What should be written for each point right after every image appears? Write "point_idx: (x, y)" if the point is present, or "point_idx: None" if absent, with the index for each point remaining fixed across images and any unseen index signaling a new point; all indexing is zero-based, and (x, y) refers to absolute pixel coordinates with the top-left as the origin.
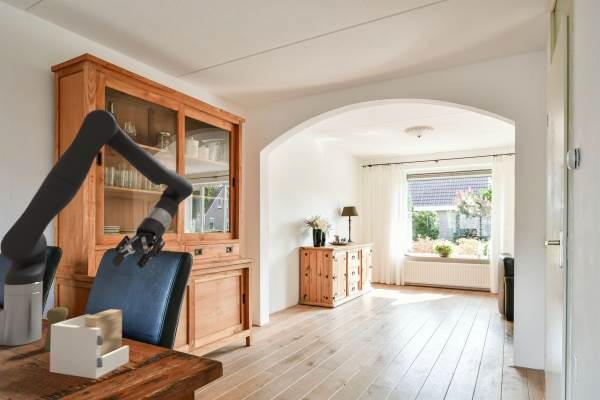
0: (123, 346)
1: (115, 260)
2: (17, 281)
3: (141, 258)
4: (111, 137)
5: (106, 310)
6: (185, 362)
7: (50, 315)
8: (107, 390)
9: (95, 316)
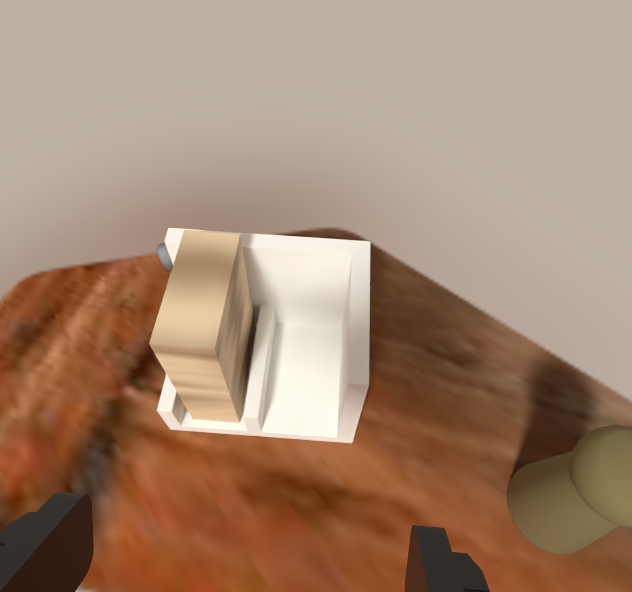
0: (173, 401)
1: (419, 544)
2: None
3: (10, 544)
4: None
5: (219, 324)
6: None
7: (605, 426)
8: (130, 272)
9: (203, 245)
